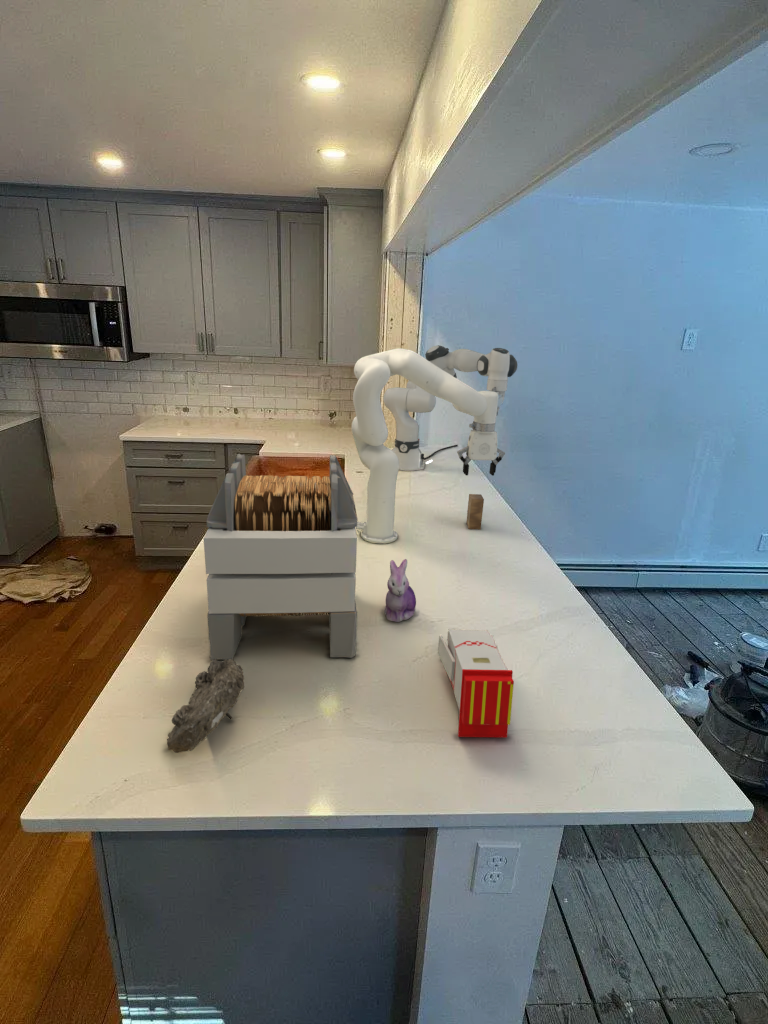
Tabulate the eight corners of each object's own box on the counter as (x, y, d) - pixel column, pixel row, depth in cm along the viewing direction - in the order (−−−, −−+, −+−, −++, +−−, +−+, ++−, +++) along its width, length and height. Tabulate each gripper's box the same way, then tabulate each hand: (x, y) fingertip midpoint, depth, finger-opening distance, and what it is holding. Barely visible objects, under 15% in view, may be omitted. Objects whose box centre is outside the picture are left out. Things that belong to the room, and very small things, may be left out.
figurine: (392, 627, 141) (395, 572, 136) (374, 608, 149) (376, 556, 144) (425, 619, 145) (429, 566, 140) (405, 601, 154) (408, 550, 149)
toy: (488, 613, 130) (523, 677, 101) (484, 667, 133) (517, 744, 104) (435, 612, 130) (455, 676, 101) (432, 666, 133) (451, 743, 103)
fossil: (192, 660, 117) (244, 628, 112) (224, 691, 120) (276, 661, 115) (142, 746, 98) (202, 712, 93) (182, 779, 101) (242, 748, 96)
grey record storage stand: (230, 589, 156) (222, 444, 142) (349, 588, 159) (352, 446, 146) (207, 662, 124) (194, 484, 110) (356, 658, 128) (362, 486, 114)
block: (468, 529, 207) (471, 498, 203) (466, 523, 213) (469, 493, 209) (480, 529, 207) (484, 499, 203) (478, 523, 213) (481, 494, 209)
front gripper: (463, 429, 193) (458, 477, 198) (511, 429, 195) (505, 477, 201) (457, 424, 199) (452, 471, 205) (503, 425, 202) (498, 471, 208)
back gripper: (499, 389, 242) (495, 421, 247) (508, 384, 260) (504, 414, 265) (484, 388, 244) (481, 420, 249) (494, 383, 262) (491, 413, 267)
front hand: (478, 474), depth 203 cm, fingers open, 9 cm apart
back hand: (493, 417), depth 257 cm, fingers open, 8 cm apart
